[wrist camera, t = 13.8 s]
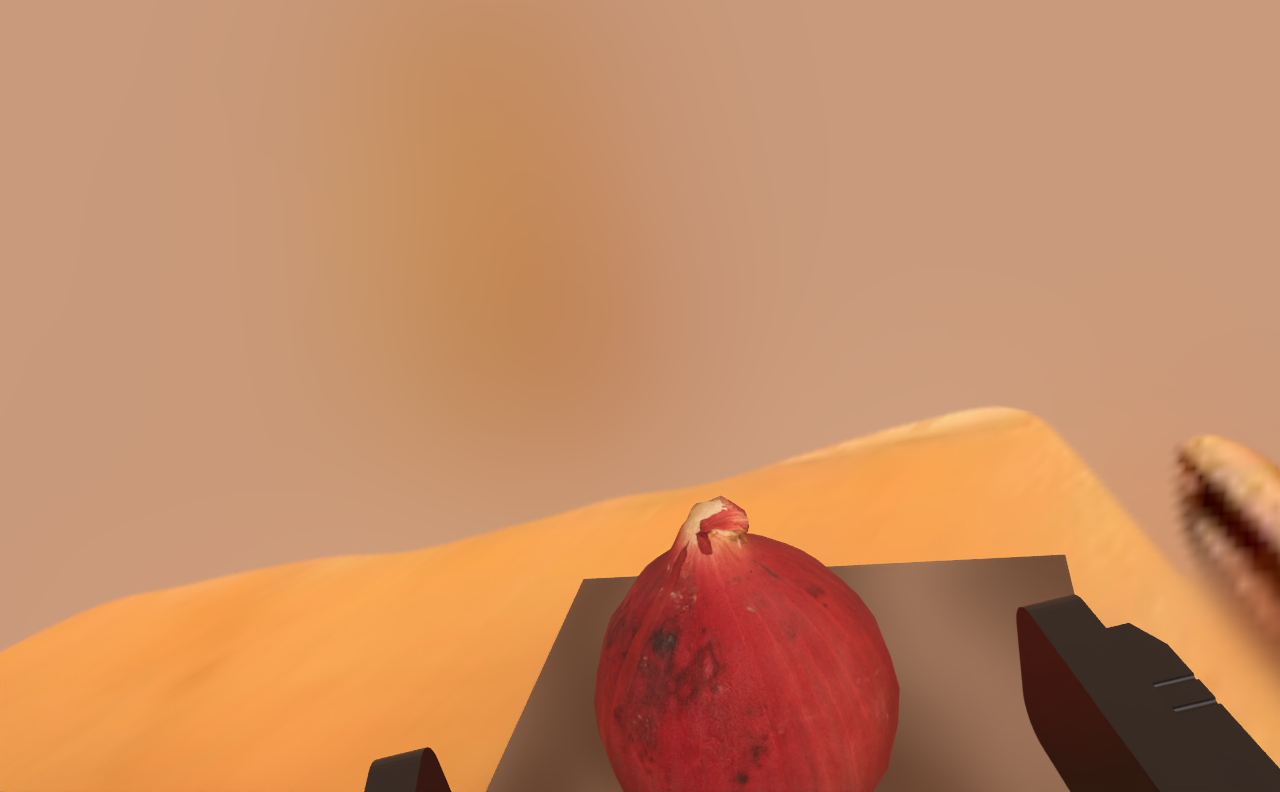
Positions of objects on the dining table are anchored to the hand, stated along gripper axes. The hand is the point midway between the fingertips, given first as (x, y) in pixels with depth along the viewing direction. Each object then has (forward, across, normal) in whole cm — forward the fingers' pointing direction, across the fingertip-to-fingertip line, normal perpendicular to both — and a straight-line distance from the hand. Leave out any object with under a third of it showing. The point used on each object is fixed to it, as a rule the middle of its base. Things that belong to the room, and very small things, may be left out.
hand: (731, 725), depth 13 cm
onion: (+5, 0, +8) cm, 9 cm away
